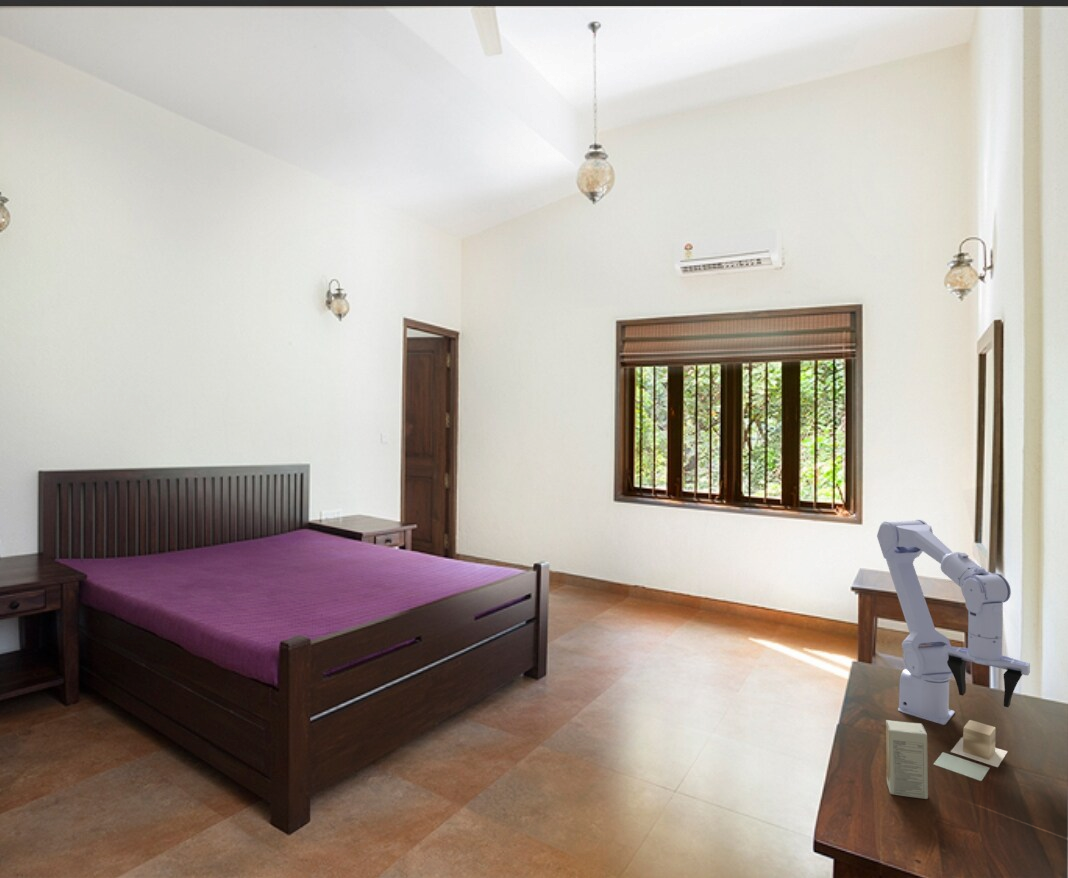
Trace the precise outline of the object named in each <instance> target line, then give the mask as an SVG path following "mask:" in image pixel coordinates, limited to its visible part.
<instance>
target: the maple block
mask: <svg viewBox="0 0 1068 878" xmlns="http://www.w3.org/2000/svg"><path fill="white" fill-rule="evenodd" d="M996 729H997V728H996V727H995V726H992V725H990V724H989V725H988V724H986V723H982V722H979V721H976V720H972V719H969V720H968V721H967V722H966V724H965V725H964V727H963V735H962V737H963V752H966V753H969V754H972V755H975V756H978V757H982V758H985V759H988V760H990V758H991V757H992V755H993V754H994V752H995V748H996V732H997V730H996Z"/></svg>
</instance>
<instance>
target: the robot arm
mask: <svg viewBox="0 0 1068 878" xmlns="http://www.w3.org/2000/svg"><path fill="white" fill-rule="evenodd" d="M876 537H877V541H878V544H879V547H880V550H881V553H882V556H883V559H885V560H886V563H887V567H888V571H889V572H890V576H891V580H892V582H893V586H894V589H895V591H896V595H897V598H898V601H899V604H900V608H901V611H902V613H903V616H904V621H905V622H906V626H907V629H908V632H909V634H908V635H907V636H906V637H905V638H904V639H903V641H902V643H901V648H902V653H903V656H902V659H903V663H904V667H905V668H904V669H903V670H902V672H901V674H900V676H899V678H900V679H899V687H898V688H899V689H898V690H899V691H898V693H899V694H898V708H897V711H898V712H900V713H903V714H907V715H910V716H913V717H916V718H918V719H919V718H920V719H923V720H927V721H930V722H933V723H935V724H940V725H943V726H944V725H946V724H947V723H948V722H949V721H950V719H951V718H952V717H953V716H954V715H955V712H956V711H955V710H952V709H949V708H950V707H949V704H950V702H949V701H950V679H953V677H954V680H955V683H956V685H957V691H958V695H959V696H964V695H965V694H966V690H967V685H966V674H967V673H966V671H967V662H971V663H975V664H978V665H983V666H988V667H992V668H996V669H997V668H998V669H1002V670H1006V671H1005V672H1004V673H1003V684H1004V693H1003V694H1004V695H1003V707H1005V708H1009V707H1010V705H1011V702H1012V697H1013V694H1014V691H1015V689H1016V686H1017V685H1018V683H1019V681H1020V679H1021V678H1022V676H1029V675H1030V673H1031V663H1029V662H1026V661H1021V660H1019V659H1016V658H1013V657H1011V656H1010V657H1009V656H1007V655H1003V629H1004V628H1003V626H1004V625H1003V621H1004V620H1003V619H1004V617H1003V616H1004V614H1003V612H1004V603H1006V602H1008V601H1009V600H1010V598H1011V595H1012V593H1011V591H1012V590H1011V585H1010V583H1009V581H1008V580H1007V579H1006V578H1005V576H1003V575H1002V574H1000V573H999V572H997V573H996V572H993V573H992V572H990V571H987V570H985V568H984V567H983V566H980V565H978V563H976V562H975V561H973V560H972V559H971V558H969V555H968V554H967V553H966V552H959V551H958V552H957V551H955V552H953V551H952V550H951V549H950V548H949V547H948V546H947V545H945V543H943V542H942V541H941V539H939V538H938V537H937V536H936V535H935V534H933V528H932V526H931V525H929V524H928V523H927V522H926V521H925V520H923V519H916V520H901V521H899V520H898V521H897V520H896V521H889V520H886V521H883V522H882V523H881V524H880V525H879V528H878V531H877V534H876ZM922 553H924V554H926V555H927V556H929V557H931V558H932V560H934V561H936V562H937V563H939V564H940V570H941V572H942V573H943V574H944V575H945V576H946V577H947V578H948V579H950V580H951V581H953V582H954V583H955V585H957V586H958V587H959V588H960V590H961V593H962V597H963V598H964V602H965V607H966V610H967V611H968V623H967V624H968V625H967V626H968V627H967V647H960V646H959V647H958V646H952V645H951V642H950V639H949V637H947V636H946V635H944V634H943V633H941V632H939V631H938V630H936V627H935V625H934V621H933V618H932V616H931V614H930V613H931V612H930V609H929V606H928V605H927V604H928V603H927V602H926V598H925V594H924V592H923V589H922V585H920V584H921V583H920V581H919V578H918V575H917V571H916V568H915V565H914V561H915V559H917V558H918V557H920V556H921V554H922Z"/></svg>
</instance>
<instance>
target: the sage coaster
mask: <svg viewBox="0 0 1068 878" xmlns="http://www.w3.org/2000/svg"><path fill="white" fill-rule="evenodd" d="M933 765H934V766H936V767H938V768H939V767H940V768H942V769H944V770H945V769H946V770H947V771H951V772H954V773H957V774H959V775H962V776H965V777H968V778H970V779H974V780H977V781H979V782H982V781H983V779H984V778H985V777H986V775H987V774H988V772H989V770H990V769H991V768H990V766H989V767H988V766H985V765H983V764H980V763H976V762H973V761H970V760H967V759H964V758H961V757H958V756H955V755H952V754H949V753H946V752H941V754H940V755H939V756H938V757H937V759H936V760H935V761H934V763H933Z"/></svg>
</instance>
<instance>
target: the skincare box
mask: <svg viewBox="0 0 1068 878" xmlns="http://www.w3.org/2000/svg"><path fill="white" fill-rule="evenodd" d="M885 743H886V744H885V745H886V749H885V752H886V755H885V756H886V757H885V758H886V762H885V763H886V767H885V769H886V784H887V787H888V792H889V794H890V795H894V796H895V795H896V796H900V797H901V796H902V797H907V798H908V797H909V798H917V799H923V800H924V799H925V800H927V799H928V798H929V792H928V791H929V787H928V786H929V785H928V784H929V782H928V781H929V779H928V778H929V777H928V734H927V731H926V728H925V726H924V725H923V723H919V722H913V721H912V722H911V721H910V722H909V721H900V720H890V719H886V720H885ZM928 800H929V799H928Z"/></svg>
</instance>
